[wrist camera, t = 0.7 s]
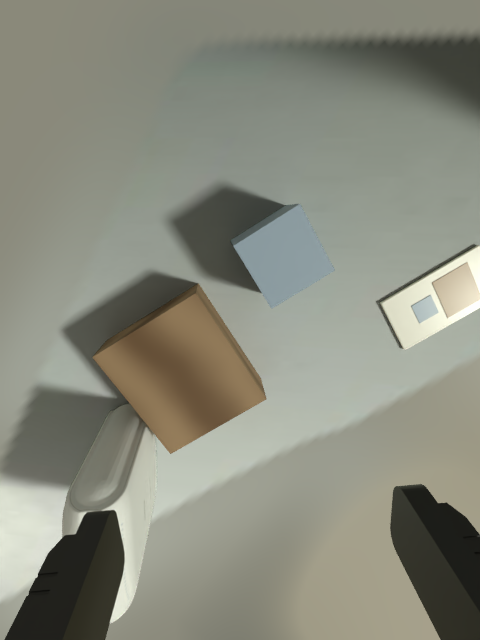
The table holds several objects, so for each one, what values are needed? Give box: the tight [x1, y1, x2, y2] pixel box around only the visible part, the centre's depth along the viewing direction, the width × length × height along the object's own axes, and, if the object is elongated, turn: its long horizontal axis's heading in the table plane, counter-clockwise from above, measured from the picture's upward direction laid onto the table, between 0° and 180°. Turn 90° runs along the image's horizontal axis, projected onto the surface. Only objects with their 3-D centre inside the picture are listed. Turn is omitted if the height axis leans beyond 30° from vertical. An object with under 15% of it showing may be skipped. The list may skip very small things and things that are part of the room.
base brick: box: [93, 284, 266, 454], centre depth 29 cm, size 9×10×4 cm
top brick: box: [230, 204, 335, 309], centre depth 26 cm, size 5×5×5 cm
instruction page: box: [380, 245, 480, 350], centre depth 30 cm, size 9×5×1 cm, turn 122°
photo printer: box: [62, 404, 157, 623], centre depth 27 cm, size 10×4×12 cm, turn 178°
